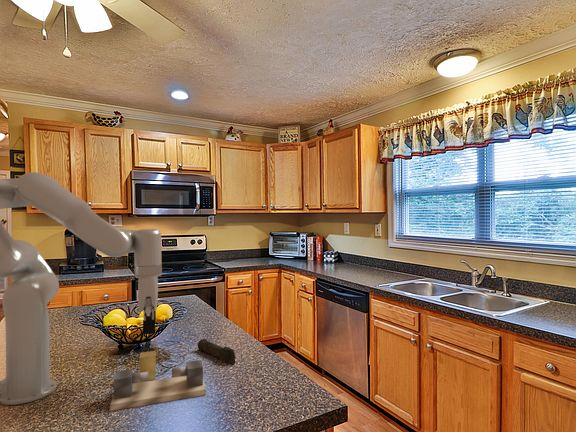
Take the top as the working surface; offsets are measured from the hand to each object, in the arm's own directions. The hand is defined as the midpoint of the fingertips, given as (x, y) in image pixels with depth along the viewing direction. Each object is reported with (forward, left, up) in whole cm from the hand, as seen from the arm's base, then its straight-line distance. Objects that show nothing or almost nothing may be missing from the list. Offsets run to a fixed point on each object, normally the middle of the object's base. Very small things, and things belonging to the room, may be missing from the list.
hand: (149, 328), depth 104 cm
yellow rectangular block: (-1, 0, -15) cm, 15 cm away
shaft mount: (+3, -11, -15) cm, 18 cm away
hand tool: (+22, +9, -15) cm, 28 cm away
